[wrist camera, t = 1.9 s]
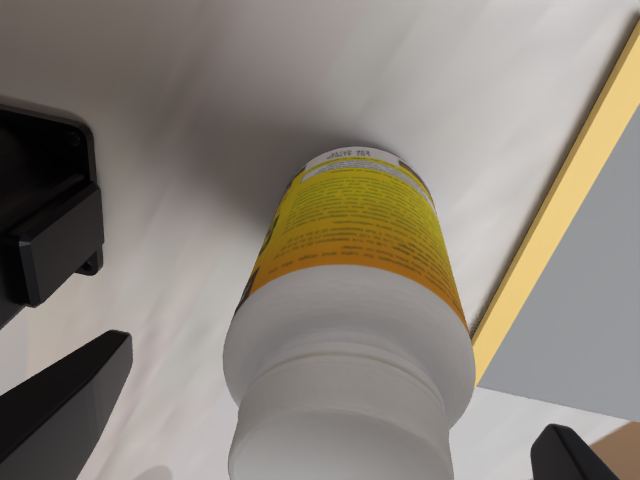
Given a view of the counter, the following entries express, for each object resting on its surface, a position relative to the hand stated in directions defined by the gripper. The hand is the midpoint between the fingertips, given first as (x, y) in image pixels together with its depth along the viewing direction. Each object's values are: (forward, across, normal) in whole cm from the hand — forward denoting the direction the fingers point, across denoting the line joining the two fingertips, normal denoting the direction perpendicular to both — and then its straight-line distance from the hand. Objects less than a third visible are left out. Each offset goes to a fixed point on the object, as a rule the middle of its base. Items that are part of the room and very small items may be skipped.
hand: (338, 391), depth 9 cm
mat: (+8, -11, -1) cm, 14 cm away
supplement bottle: (+8, 0, 0) cm, 8 cm away
